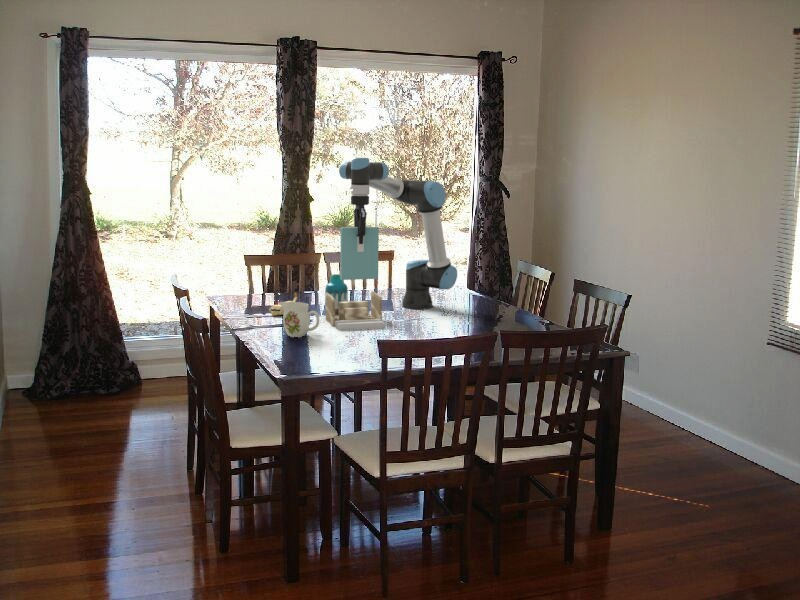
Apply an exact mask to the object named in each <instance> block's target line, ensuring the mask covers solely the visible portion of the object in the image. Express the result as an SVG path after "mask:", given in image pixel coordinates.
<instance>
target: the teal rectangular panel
mask: <svg viewBox="0 0 800 600" xmlns="http://www.w3.org/2000/svg"><path fill="white" fill-rule="evenodd" d="M356 235H358V227H354V226H348V227H347V226H344V227H343V226H342V227H340V260H339V261H340V264H339V265H340V272H339V273H340V279H341V280H343V281H350V280H351V281H352V280H355V281H356V280H377V279H378V280H379V242H380V239H379V235H380V228H379V227H378V226H366V230H365V235H364V252H357V236H356Z"/></svg>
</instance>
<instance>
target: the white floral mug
mask: <svg viewBox="0 0 800 600" xmlns="http://www.w3.org/2000/svg"><path fill="white" fill-rule="evenodd" d="M277 302H278V301H277ZM277 304H278V305H279V304H280V305H281V306H282V307H283V309H284V314H282V315H283V316H282V321H283V328H284V330H285V333H286V334H287V336H288V337H289V336H290V338H294V337H298V338H303V337H302V336H304V337H305V335H306V334H307V333H309V332H312V331H315V330H316V329H317V328H318V327H319V325H320V321H321V320H320V315H319V313H318V312H317V310H311V311H309V308H310V304H309V303H306V302H301V303H300V301H299V302H298V301H296V302H286V301H280V302H278V303H277ZM313 314H314V315H315V317H316V322H315V324H314V325H313V326H312V327H310V322H311V321H310V320H311V317H310V315H313Z"/></svg>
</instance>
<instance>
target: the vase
mask: <svg viewBox="0 0 800 600" xmlns="http://www.w3.org/2000/svg"><path fill="white" fill-rule="evenodd" d="M348 289H349V288H348V286H347V284H346V283H345V282H344V280H341V279H340V274H338V273H337V274H330V281H329V282H328V283H327V284H326V285H325V292H324V305H325V307H326V293H329V294H330V295H331V296H332V297H333V298H334V299H335V315H339V302H348V301H349V292H348V291H349V290H348Z"/></svg>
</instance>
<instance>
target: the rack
mask: <svg viewBox="0 0 800 600" xmlns="http://www.w3.org/2000/svg"><path fill="white" fill-rule="evenodd" d="M370 298H371V299H370V315H368V319H381V321H383V297H382V295H379V294H378V293H376V292H375V291H374V290H373V291H372V290H371V291H370ZM325 321H326V322H328V323H329V324H330V325H331V326H332V327H335V321H339V316H336V314H335V299H334V298H333V297H332V296H331V295H330V294H329V293H326V306H325Z"/></svg>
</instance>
